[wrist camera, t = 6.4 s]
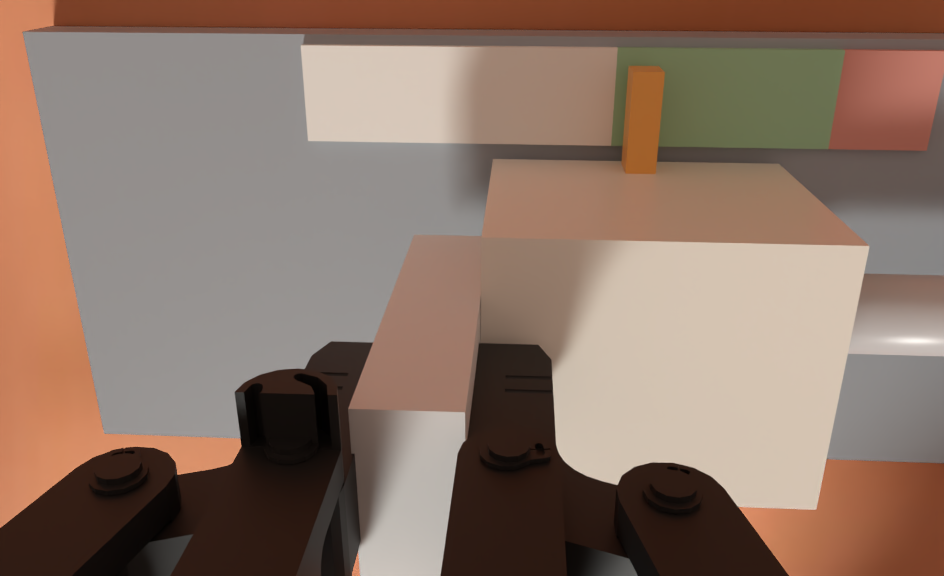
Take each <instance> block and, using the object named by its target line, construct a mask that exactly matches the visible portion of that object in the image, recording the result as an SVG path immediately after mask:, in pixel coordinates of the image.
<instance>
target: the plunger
mask: <svg viewBox="0 0 944 576" xmlns="http://www.w3.org/2000/svg"><path fill="white" fill-rule="evenodd" d="M664 77H665V72H664V71H663V70H662V69H661V68H660V67H659V66H628V80H627V93H626V107H625V120H624V134H623V147H622V161H587V160H527V159H493V162H492V169H491V176H490V182H489V189H488V196H487V203H486V209H485V216H484V223H483V230H482V237H481V343H494V344H532V345H539V346H540V347H541V348H542V349H543V351H544V352H545V353H546V354H547V355H548V356H549V357H550V359H551V360H552V380H553V397H554V415H555V434H556V446H557V450H558V452H559V455H560V456H561V457H562V459H563V460H564V462H566V463H567V464H568V465H569V466H570V467H572V468H573V469H574V470H576V471H578V472H580V473H582V474H584V475H585V476H588V477H591V478H594V479H597V480H600V481H603V482H607V483H611V484H615V485H618V483H619V481H620V478H621V476H622V475H623V474H625V473H626V472H628V471H629V470H631V469H632V468H633V467H636V466H640V465H644V464H648V463H652V462H657V463H676V464H680V465H685V466H689V467H693V468H695V469H697V470H699V471H701V472H703V473H705V474H707V475H709V476H711V477H712V478H713V479H715V480H716V481H717V482H718V483H719V484H720V485H721V486H722V487H723V488H724V489H725V490H726V491H727V493H728V494H729V495H730V497H731V498H732V500H733V501H734V502H735V504H736V505H737V506H738V507H755V508H781V509H807V510H816V509H817V504H818V499H819V494H820V489H821V484H822V479H823V474H824V469H825V464H826V459H827V454H828V449H829V444H830V439H831V434H832V430H833V425H834V420H835V415H836V410H837V405H838V400H839V395H840V390H841V385H842V380H843V375H844V370H845V365H846V360H847V355H848V354H876V355H911V356H944V275H907V274H865V273H864V271H865V267H866V262H867V257H868V252H869V247H870V246H869V245H868V244H867V243H866V242H865V241H864V240H862V239H861V238H860V237H859V236H858V235H857V234H856V233H855V232H854V231H853V230H851V229H850V228H849V227H848V226H847V225H846V224H845V223H844V222H843V221H842V220H840V219H839V218H838V217H837V216H836V215H835V214H834V213H833V212H832V211H830V210H829V209H828V208H827V207H826V206H825V205H824V204H823V203H822V202H821V201H819V200H818V199H817V198H816V197H815V196H814V195H813V194H812V193H811V192H810V191H808V190H807V189H806V188H805V187H804V186H803V185H802V184H801V183H800V182H799V181H797V180H796V179H795V178H794V177H793V176H792V175H791V174H790V173H789V172H788V171H786V170H785V169H784V168H783V167H782V166H781V165H780V164H768V163H708V162H657V154H658V143H659V132H660V121H661V110H662V99H663V88H664Z"/></svg>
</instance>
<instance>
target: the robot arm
mask: <svg viewBox="0 0 944 576" xmlns="http://www.w3.org/2000/svg"><path fill="white" fill-rule="evenodd" d="M481 237H482V236H455V235H414V236H413V239H412V242H411V244H410V247H409V250H408V252H407V255H406V257H405V260H404V263H403V265H402V268H401V271H400V273H399V276H398V279H397V281H396V284H395V286H394V289H393V292H392V294H391V297H390V300H389V302H388V305H387V308H386V310H385V313H384V315H383V318H382V321H381V323H380V326H379V329H378V331H377V334H376V337H375V339H374V342H337V341H331V342H329V343H328V344H327V345H325V346H324V347H323V348H321V349H320V350H318V351H317V352H316V353H314V354H313V355H312V356H311V358H310V360H309V362H308V363H307V365H306V367H305V369H299V368H298V369H283V370H276V371H272V372H268V373H264V374H260V375H258V376H256V377H254V378H252V379H250V380H248V381H246V382H244V383H243V384H242V385H241V386H240V387H239V388H238V389H237V390H236V391H235V392H234V393H235V400H236V408H237V415H238V423H239V430H240V438H241V445H242V447H241V449H240V451H239V453H238V454H237V456H236V458H235V460H234V462H233V463H232V464H231V465H228V466H224V467H220V468H216V469H211V470H205V471H199V472H193V473H187V474H181V475H177V469H176V463H175V461H174V460H173V459H172V458H171V457H170V455H169V454H168V453H166V452H163V451H160V450H158V449H155V448H145V447H129V448H125V449H123V448H121V449H116V450H112V451H110V452H107V453H105V454H102V455H99V456H96V457H93V458H92V459H90V460H89V461H87V462H85V463H84V464H82V465H80V466H79V467H77V468H76V469H74V470H73V471H72V472H71V473H69V474H68V475H67V476H66V477H64V478H63V479H62V480H61V481H59V482H58V483H57V484H55V485H54V486H53V487H52V488H50V489H49V490H48V491H47V492H45V493H44V494H43V495H42V496H40V497H39V498H38V499H37V500H35V501H34V502H33V503H32V504H30V505H29V506H28V507H27V508H25V509H24V510H23V511H21V512H20V513H19V514H18V515H16V516H15V517H14V518H13V519H11V520H10V521H9V522H8V523H6V524H5V525H4V526H3V527H1V528H0V576H352V571H353V567H354V563H355V560H356V556H357V553H359V567H360V576H789V575H788V574H787V573H786V571H785V570H784V568H783V567H782V566H781V564H780V563H779V562H778V560H777V559H776V558H775V556H774V555H773V554H772V552H771V551H770V550H769V548H768V547H767V545H766V544H765V543H764V541H763V540H762V539H761V537H760V536H759V535H758V533H757V532H756V531H755V529H754V528H753V527H752V525H751V524H750V523H749V521H748V520H747V518H746V517H745V516H744V514H743V513H742V512H741V510H740V509H739V508H738V506H737V505H736V504H735V502H734V501H733V500H732V498H731V497H730V495H729V494H728V493H727V491H726V490H725V489H724V488H723V487H722V486H721V485H720V484H719V483H718V482H717V481H716V480H715V479H713V478H712V477H711V476H709V475H707V474H705V473H703V472H701V471H699V470H697V469H695V468H693V467H689V466H685V465H680V464H676V463H657V462H652V463H648V464H644V465H640V466H636V467H633V468H632V469H631V470H629V471H628V472H626V473H625V474H623V475H622V476H621V478H620V481H619V483H618V485H615V484H611V483H607V482H603V481H600V480H597V479H594V478H591V477H588V476H585V475H584V474H582V473H580V472H578V471H576V470H574V469H573V468H572V467H570V466H569V465H568V464H567V463H566V462H564V460H563V459H562V457H561V456H560V455H559V452H558V450H557V446H556V434H555V415H554V397H553V380H552V360H551V359H550V357H549V356H548V355H547V354H546V353H545V352H544V351H543V349H542V348H541V347H540V346H539V345H532V344H494V343H481Z"/></svg>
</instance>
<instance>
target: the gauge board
mask: <svg viewBox="0 0 944 576" xmlns="http://www.w3.org/2000/svg"><path fill="white" fill-rule="evenodd" d="M23 36H24V41H25V46H26V51H27V56H28V61H29V66H30V71H31V76H32V80H33V85H34V90H35V95H36V100H37V105H38V110H39V115H40V120H41V125H42V130H43V135H44V140H45V144H46V149H47V154H48V159H49V164H50V169H51V174H52V179H53V184H54V189H55V194H56V199H57V204H58V208H59V213H60V218H61V223H62V228H63V233H64V238H65V243H66V248H67V253H68V258H69V263H70V268H71V272H72V277H73V282H74V287H75V292H76V297H77V302H78V307H79V312H80V317H81V322H82V327H83V332H84V336H85V341H86V346H87V351H88V356H89V361H90V366H91V371H92V376H93V381H94V386H95V391H96V395H97V400H98V405H99V410H100V415H101V420H102V425H103V430H104V433H105V434H133V435H161V436H189V437H217V438H240V430H239V423H238V415H237V408H236V400H235V393H234V392H235V391H236V390H237V389H238V388H239V387H240V386H241V385H242V384H243V383H244V382H246V381H248V380H250V379H252V378H254V377H256V376H258V375H260V374H264V373H268V372H272V371H276V370H283V369H298V368H299V369H305V367H306V365H307V363H308V362H309V360H310V358H311V356H312V355H313V354H314V353H316V352H317V351H318V350H320V349H321V348H323V347H324V346H325V345H327V344H328V343H329V342H331V341H337V342H374V339H375V337H376V334H377V331H378V329H379V326H380V323H381V321H382V318H383V315H384V313H385V310H386V308H387V305H388V302H389V300H390V297H391V294H392V292H393V289H394V286H395V284H396V281H397V279H398V276H399V273H400V271H401V268H402V265H403V263H404V260H405V257H406V255H407V252H408V250H409V247H410V244H411V242H412V239H413V236H414V235H455V236H482V230H483V223H484V216H485V209H486V203H487V196H488V189H489V182H490V176H491V169H492V162H493V159H527V160H587V161H622V147H623V134H624V120H625V107H626V93H627V80H628V66H659V67H660V68H661V69H662V70H663V71H664V72H665V77H664V88H663V99H662V110H661V121H660V132H659V143H658V154H657V162H708V163H768V164H780V165H781V166H782V167H783V168H784V169H785V170H786V171H788V172H789V173H790V174H791V175H792V176H793V177H794V178H795V179H796V180H797V181H799V182H800V183H801V184H802V185H803V186H804V187H805V188H806V189H807V190H808V191H810V192H811V193H812V194H813V195H814V196H815V197H816V198H817V199H818V200H819V201H821V202H822V203H823V204H824V205H825V206H826V207H827V208H828V209H829V210H830V211H832V212H833V213H834V214H835V215H836V216H837V217H838V218H839V219H840V220H842V221H843V222H844V223H845V224H846V225H847V226H848V227H849V228H850V229H851V230H853V231H854V232H855V233H856V234H857V235H858V236H859V237H860V238H861V239H862V240H864V241H865V242H866V243H867V244H868V245H869V246H870V247H869V252H868V257H867V262H866V267H865V271H864V273H865V274H907V275H944V33H855V32H731V31H606V30H482V29H358V28H234V27H110V26H50V27H45V28H40V29H34V30H29V31H24V32H23ZM827 459H836V460H864V461H892V462H920V463H944V356H911V355H876V354H848V355H847V360H846V365H845V370H844V375H843V380H842V385H841V390H840V395H839V400H838V405H837V410H836V415H835V420H834V425H833V430H832V434H831V439H830V444H829V449H828V454H827Z"/></svg>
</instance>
